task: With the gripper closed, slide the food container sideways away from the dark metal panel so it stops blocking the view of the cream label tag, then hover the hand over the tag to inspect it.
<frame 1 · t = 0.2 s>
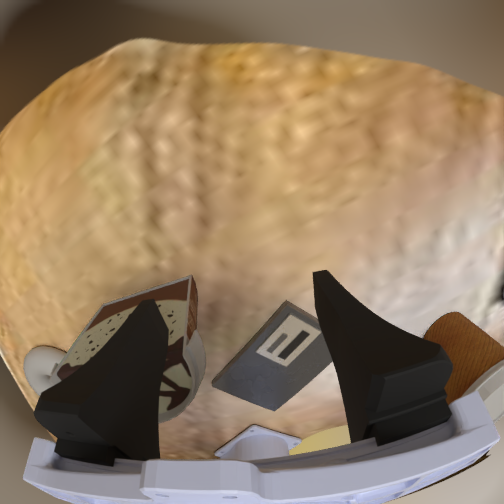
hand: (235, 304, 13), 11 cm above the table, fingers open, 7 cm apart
food container: (160, 317, 26), on the table
disposable coffee cup: (443, 333, 29), on the table
label panel: (279, 361, 29), on the table
donut: (64, 371, 30), on the table
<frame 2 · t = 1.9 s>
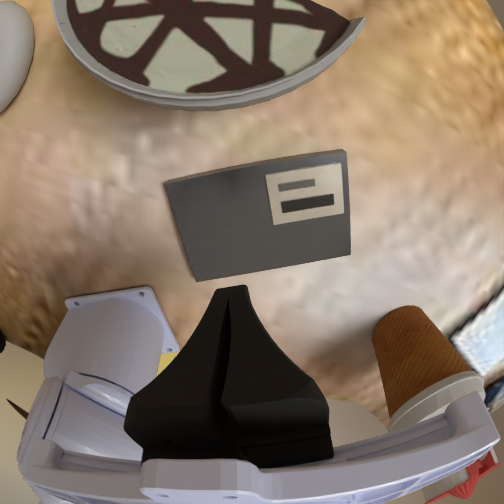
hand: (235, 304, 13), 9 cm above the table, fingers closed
food container: (200, 52, 16), on the table
disposable coffee cup: (397, 326, 29), on the table
label panel: (264, 216, 22), on the table
citrus juicer: (439, 415, 45), on the table
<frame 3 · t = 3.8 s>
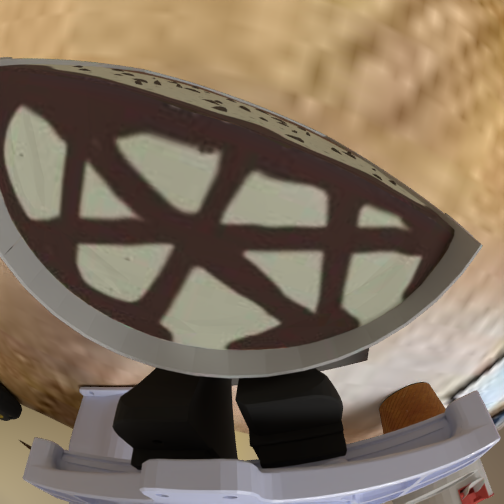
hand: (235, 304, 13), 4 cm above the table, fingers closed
food container: (213, 156, 14), on the table, touching gripper
disposable coffee cup: (404, 397, 28), on the table
label panel: (284, 334, 20), on the table
citrus juicer: (439, 447, 43), on the table
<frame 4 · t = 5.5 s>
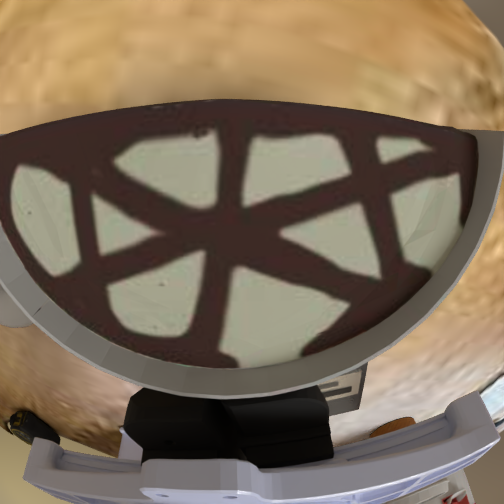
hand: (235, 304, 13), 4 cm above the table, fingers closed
tape measure: (37, 417, 29), on the table
food container: (230, 196, 14), on the table
disposable coffee cup: (391, 427, 32), on the table
label panel: (294, 395, 24), on the table
citrus juicer: (427, 460, 47), on the table
donut: (7, 250, 16), on the table
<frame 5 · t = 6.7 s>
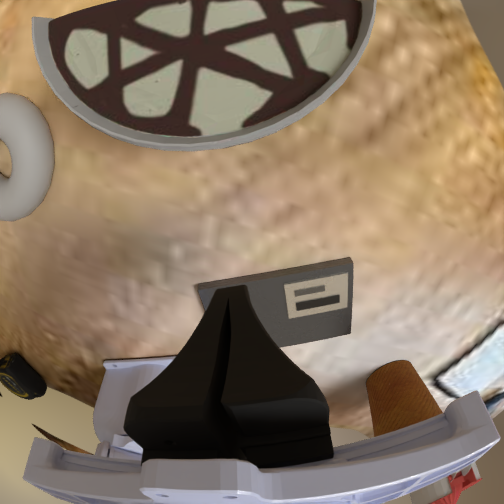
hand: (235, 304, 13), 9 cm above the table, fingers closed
tape measure: (25, 363, 31), on the table
food container: (213, 75, 16), on the table
disposable coffee cup: (388, 374, 33), on the table
label panel: (281, 309, 26), on the table
citrus juicer: (429, 433, 49), on the table
donut: (15, 151, 17), on the table
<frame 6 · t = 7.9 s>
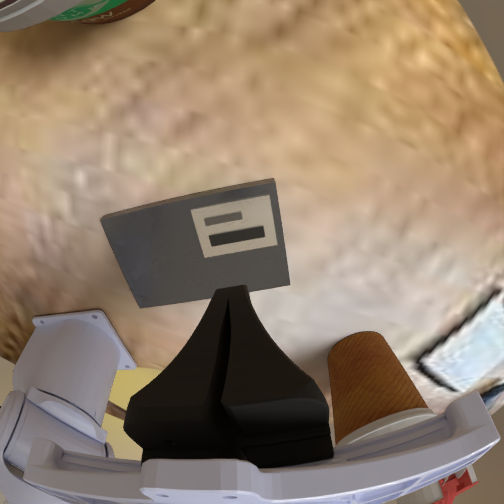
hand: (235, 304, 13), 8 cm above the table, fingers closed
disposable coffee cup: (356, 350, 29), on the table
label panel: (197, 247, 22), on the table
citrus juicer: (418, 429, 45), on the table
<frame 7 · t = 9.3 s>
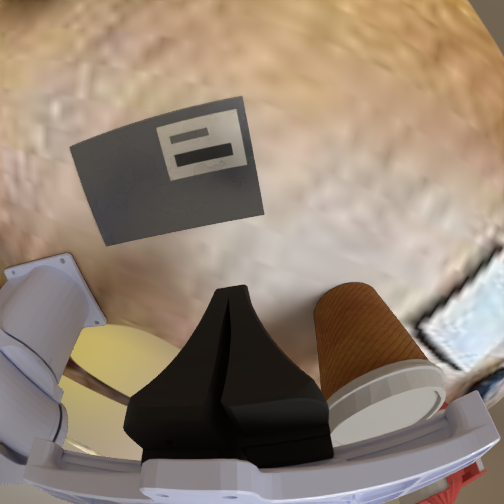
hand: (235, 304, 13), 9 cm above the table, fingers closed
disposable coffee cup: (346, 308, 27), on the table
label panel: (165, 173, 20), on the table
citrus juicer: (419, 414, 43), on the table
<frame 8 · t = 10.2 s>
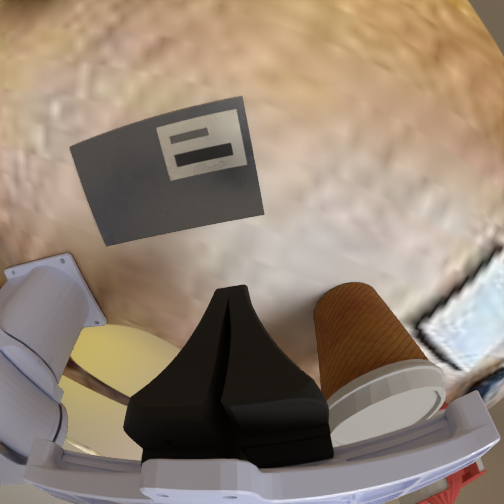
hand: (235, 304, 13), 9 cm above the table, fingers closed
disposable coffee cup: (346, 308, 27), on the table
label panel: (165, 173, 20), on the table
citrus juicer: (419, 414, 43), on the table
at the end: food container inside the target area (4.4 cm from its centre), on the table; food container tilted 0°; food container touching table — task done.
